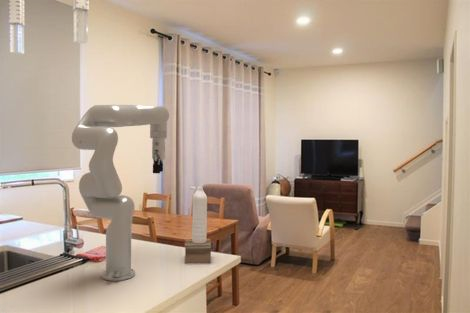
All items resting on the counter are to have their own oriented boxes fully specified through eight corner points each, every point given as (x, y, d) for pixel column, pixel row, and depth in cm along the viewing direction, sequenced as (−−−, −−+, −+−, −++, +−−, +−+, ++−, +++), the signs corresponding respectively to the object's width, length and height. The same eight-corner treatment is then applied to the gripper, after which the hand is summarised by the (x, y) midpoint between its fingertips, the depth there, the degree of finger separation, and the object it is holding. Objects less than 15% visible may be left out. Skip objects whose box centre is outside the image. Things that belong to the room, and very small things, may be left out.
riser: (210, 263, 167) (211, 245, 167) (184, 263, 166) (185, 245, 165) (209, 255, 178) (210, 238, 178) (185, 256, 177) (185, 238, 177)
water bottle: (199, 239, 176) (200, 185, 175) (209, 242, 172) (210, 186, 171) (185, 242, 170) (185, 186, 169) (194, 245, 166) (195, 188, 165)
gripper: (164, 135, 168) (163, 174, 168) (168, 135, 185) (168, 171, 185) (147, 134, 167) (146, 173, 168) (153, 135, 184) (152, 170, 185)
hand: (157, 172), depth 177 cm, fingers open, 9 cm apart
